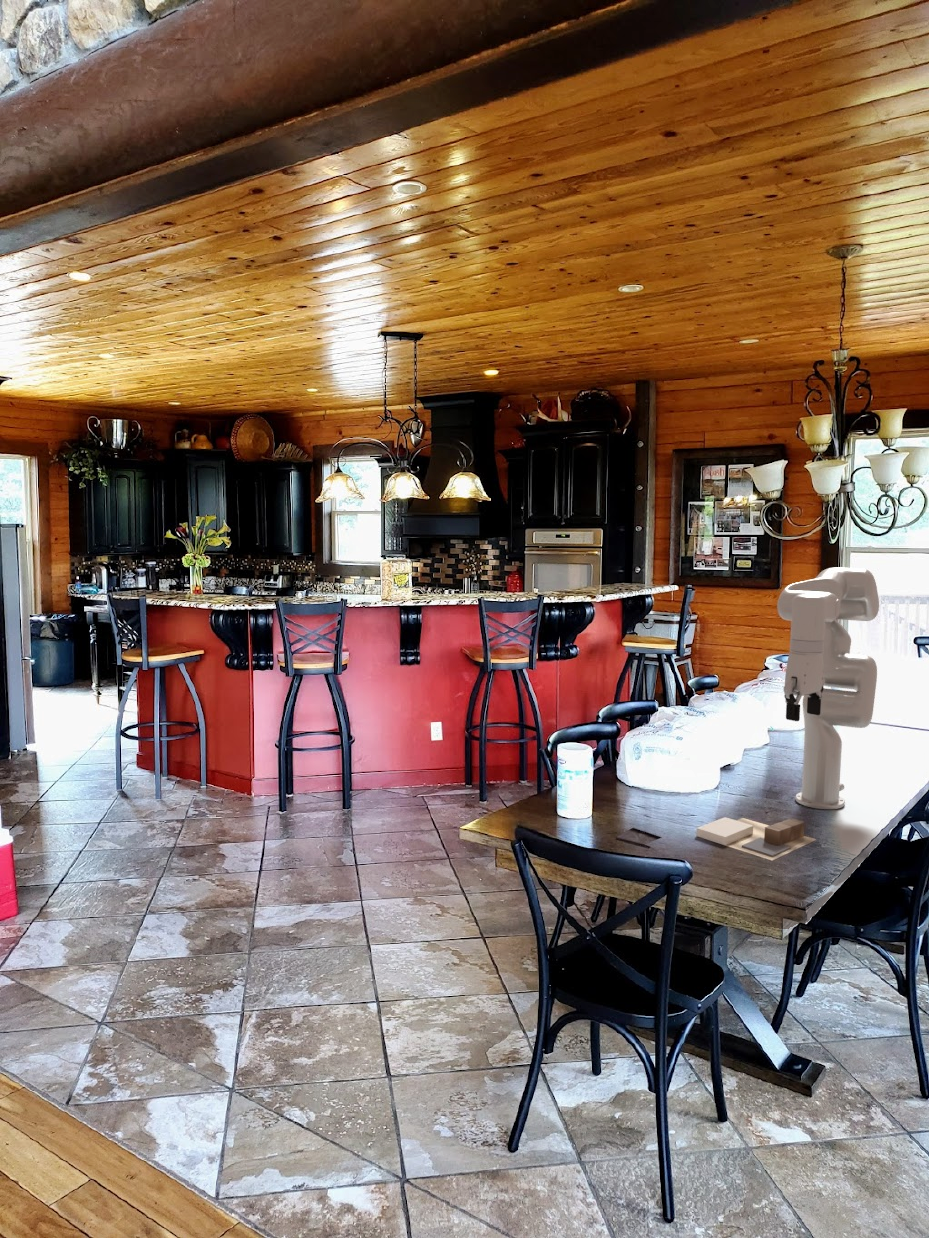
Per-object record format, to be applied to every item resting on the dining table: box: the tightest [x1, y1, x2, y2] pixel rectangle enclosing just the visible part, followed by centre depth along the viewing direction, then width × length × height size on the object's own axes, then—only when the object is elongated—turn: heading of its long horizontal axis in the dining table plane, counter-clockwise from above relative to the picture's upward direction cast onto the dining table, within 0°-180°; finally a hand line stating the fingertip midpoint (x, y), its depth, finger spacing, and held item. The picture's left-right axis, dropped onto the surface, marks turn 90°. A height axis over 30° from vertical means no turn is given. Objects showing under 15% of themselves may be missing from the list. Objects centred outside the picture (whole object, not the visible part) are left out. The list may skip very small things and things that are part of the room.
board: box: [724, 817, 817, 861], centre depth 219 cm, size 20×20×1 cm
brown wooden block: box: [764, 818, 806, 846], centre depth 218 cm, size 4×4×12 cm
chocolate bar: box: [615, 827, 663, 849], centre depth 226 cm, size 9×1×18 cm
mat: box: [742, 837, 791, 857], centre depth 213 cm, size 8×8×1 cm
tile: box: [695, 816, 753, 846], centre depth 221 cm, size 2×8×12 cm
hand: (803, 717), depth 218 cm, fingers open, 9 cm apart
